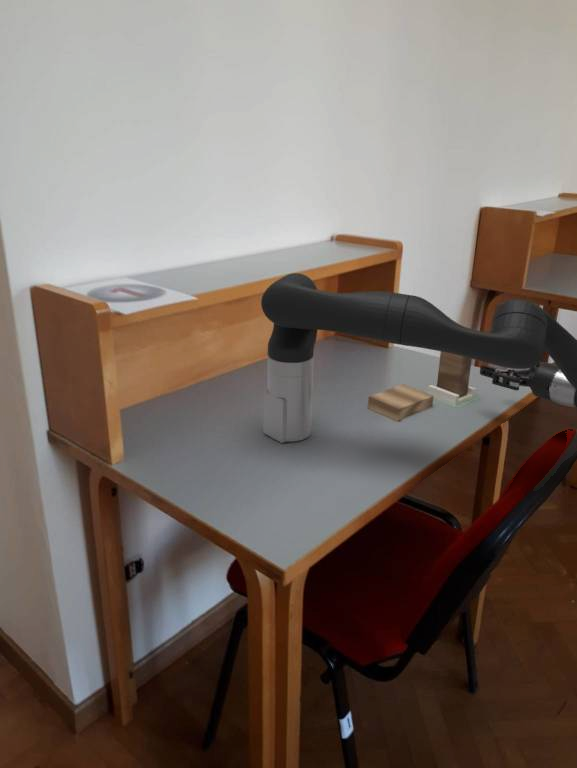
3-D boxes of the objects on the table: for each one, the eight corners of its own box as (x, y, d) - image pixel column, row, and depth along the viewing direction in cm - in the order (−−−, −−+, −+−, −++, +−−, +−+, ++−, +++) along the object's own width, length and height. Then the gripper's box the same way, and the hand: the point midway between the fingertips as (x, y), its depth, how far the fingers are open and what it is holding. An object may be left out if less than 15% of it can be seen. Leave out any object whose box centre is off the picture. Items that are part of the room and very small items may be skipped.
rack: (454, 405, 148) (456, 396, 147) (427, 394, 153) (428, 386, 152) (475, 397, 153) (476, 388, 152) (447, 387, 158) (448, 378, 157)
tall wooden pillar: (457, 398, 149) (462, 354, 145) (436, 391, 154) (441, 347, 149) (467, 394, 152) (472, 350, 148) (446, 387, 156) (451, 344, 152)
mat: (457, 409, 147) (457, 407, 147) (422, 395, 154) (422, 394, 154) (479, 399, 152) (480, 397, 152) (445, 387, 159) (445, 385, 159)
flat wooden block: (397, 421, 140) (398, 409, 139) (367, 408, 146) (368, 396, 145) (432, 407, 147) (433, 395, 146) (402, 395, 154) (403, 384, 152)
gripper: (580, 360, 135) (510, 342, 146) (546, 376, 126) (475, 356, 138) (574, 392, 138) (506, 372, 149) (540, 411, 129) (471, 388, 140)
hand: (491, 364), depth 143 cm, fingers open, 8 cm apart
